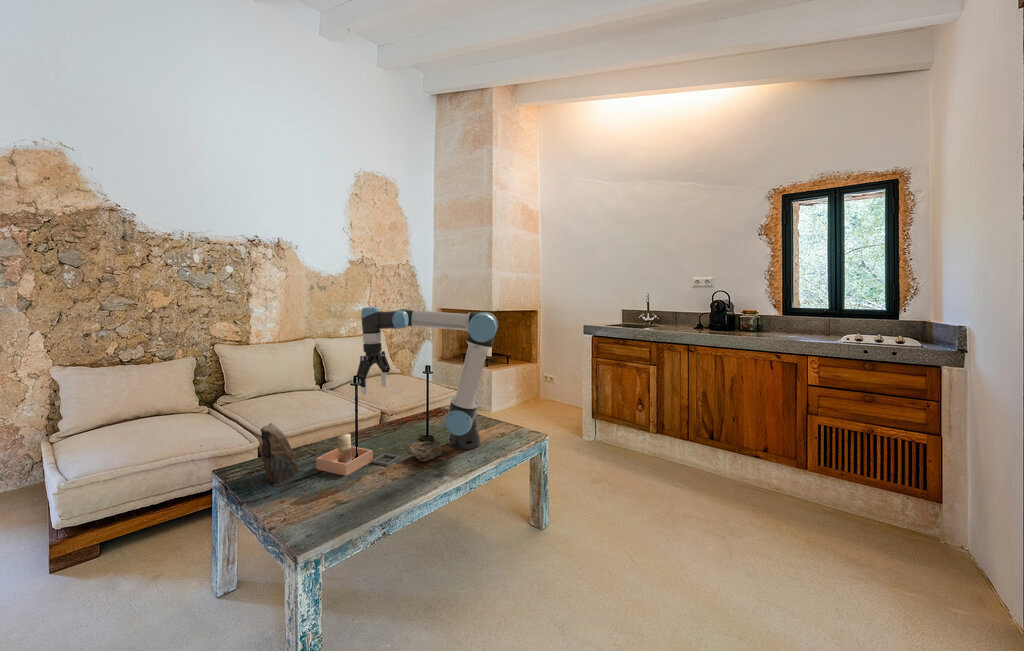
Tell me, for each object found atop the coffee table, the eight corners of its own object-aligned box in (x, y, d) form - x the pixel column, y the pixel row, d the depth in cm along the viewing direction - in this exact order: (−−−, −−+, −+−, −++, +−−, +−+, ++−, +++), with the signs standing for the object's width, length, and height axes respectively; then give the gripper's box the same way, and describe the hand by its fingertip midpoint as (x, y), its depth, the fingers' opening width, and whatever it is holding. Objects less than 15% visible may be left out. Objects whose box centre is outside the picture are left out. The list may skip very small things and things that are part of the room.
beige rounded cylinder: (355, 461, 177) (354, 434, 175) (345, 467, 171) (344, 438, 170) (344, 459, 179) (344, 432, 178) (334, 465, 174) (333, 437, 172)
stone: (413, 459, 173) (412, 436, 179) (409, 468, 180) (407, 446, 186) (445, 457, 179) (442, 435, 184) (439, 466, 186) (437, 444, 192)
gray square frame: (400, 458, 182) (400, 456, 182) (387, 466, 174) (387, 463, 174) (384, 455, 185) (384, 453, 185) (371, 462, 177) (371, 460, 177)
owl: (273, 485, 157) (271, 434, 155) (249, 480, 161) (246, 429, 159) (301, 471, 169) (299, 423, 167) (277, 466, 173) (275, 419, 171)
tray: (372, 460, 179) (372, 450, 179) (346, 475, 165) (345, 464, 165) (344, 454, 185) (344, 444, 185) (316, 469, 171) (315, 458, 170)
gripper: (382, 338, 195) (385, 383, 197) (345, 346, 172) (348, 397, 174) (396, 339, 193) (398, 384, 195) (360, 347, 169) (363, 398, 171)
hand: (375, 390), depth 184 cm, fingers open, 13 cm apart
